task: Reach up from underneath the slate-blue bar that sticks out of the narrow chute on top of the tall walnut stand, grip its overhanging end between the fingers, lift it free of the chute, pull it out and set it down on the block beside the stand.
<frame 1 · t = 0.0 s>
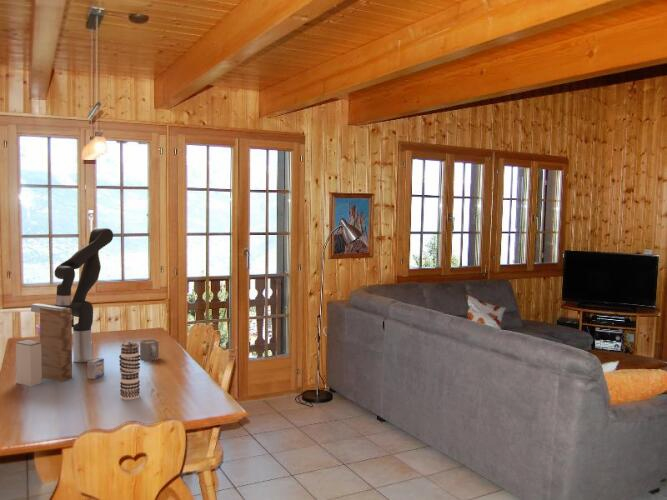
hand: (61, 334, 320), 17 cm above the table, tool pointing down, fingers open, 8 cm apart
decorative candle: (130, 397, 275), on the table
stand: (56, 377, 301), on the table
medicine box: (95, 377, 304), on the table
block: (29, 383, 291), on the table
bar: (48, 313, 301), point 32 cm above the table, touching stand
bowl of food: (54, 343, 371), on the table
coffee mug: (149, 359, 340), on the table
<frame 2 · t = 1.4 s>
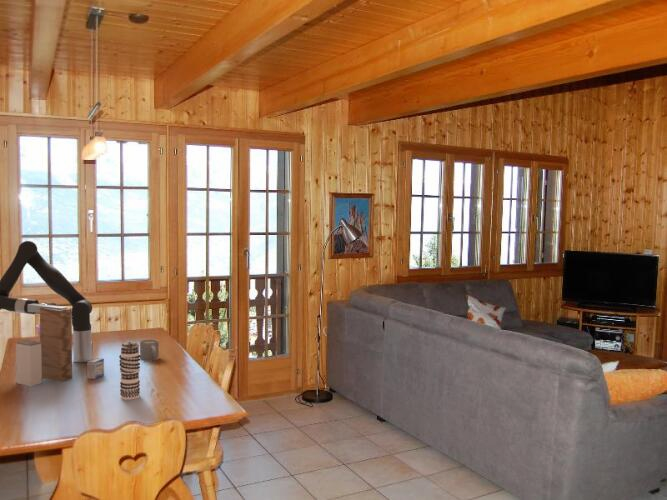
hand: (58, 309, 313), 31 cm above the table, tool horizontal, fingers open, 7 cm apart
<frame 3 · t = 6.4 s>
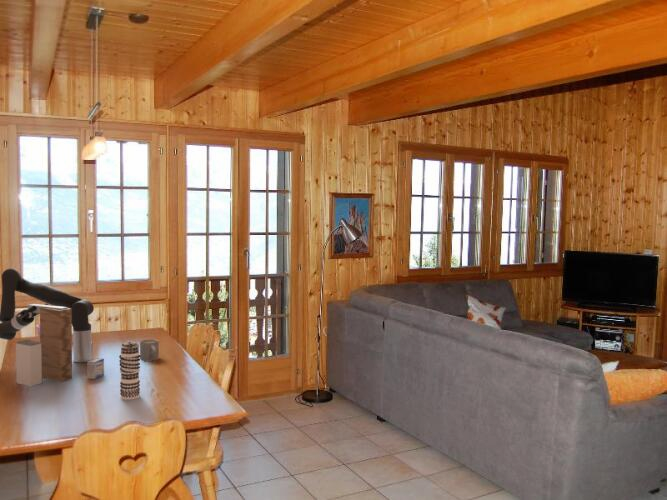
hand: (41, 306, 303), 35 cm above the table, tool pointing upward, fingers open, 6 cm apart
bar: (47, 313, 300), point 32 cm above the table, touching gripper, stand
everything else where it was.
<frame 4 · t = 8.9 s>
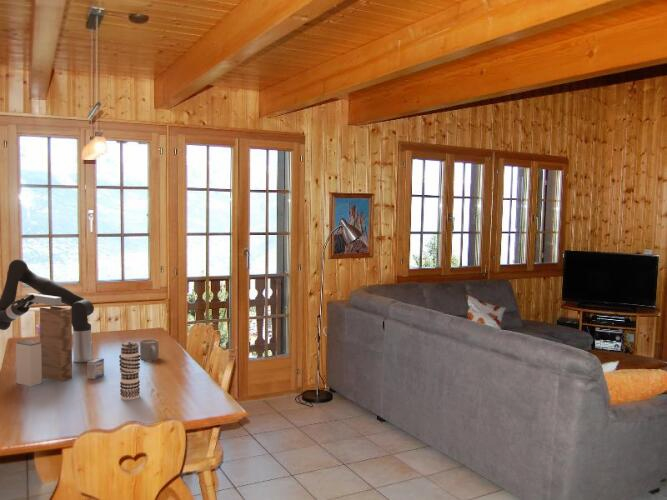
hand: (37, 295, 304), 40 cm above the table, tool pointing upward, fingers closed on bar, 3 cm apart
bar: (43, 302, 302), point 37 cm above the table, touching gripper
everything else where it was.
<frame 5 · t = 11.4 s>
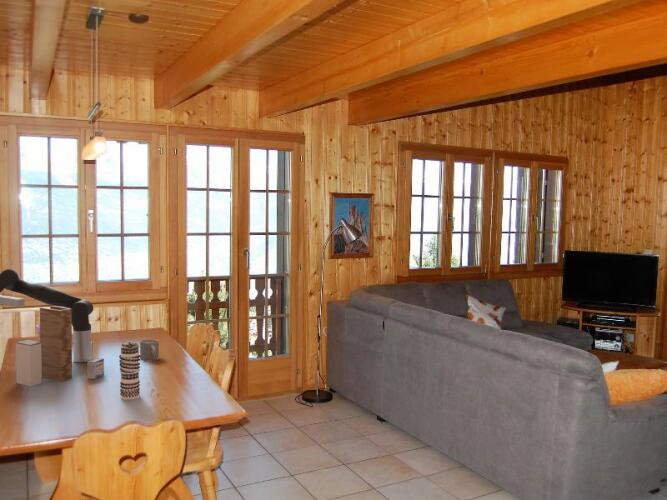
hand: (0, 296, 297), 40 cm above the table, tool pointing upward, fingers closed on bar, 3 cm apart
bar: (6, 304, 295), point 37 cm above the table, touching gripper
everything else where it was.
when the fingers open (25 cm above the table, at t = 16.1 s): bar drops 2 cm, resting on block.
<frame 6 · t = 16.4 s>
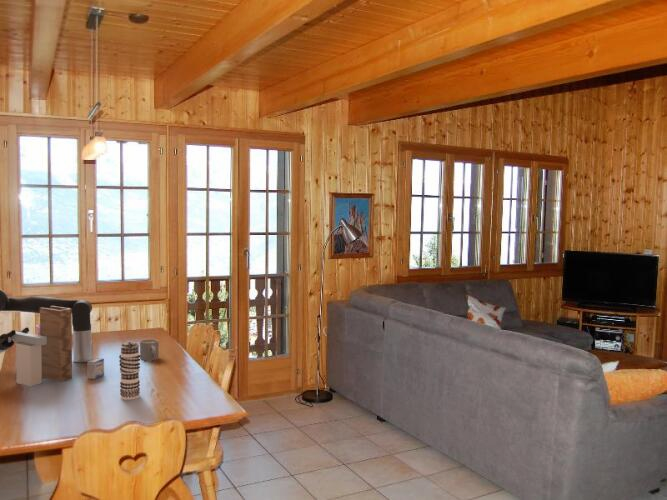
hand: (21, 330, 292), 25 cm above the table, tool pointing upward, fingers open, 6 cm apart
bar: (28, 342, 290), point 20 cm above the table, touching block
everything else where it was.
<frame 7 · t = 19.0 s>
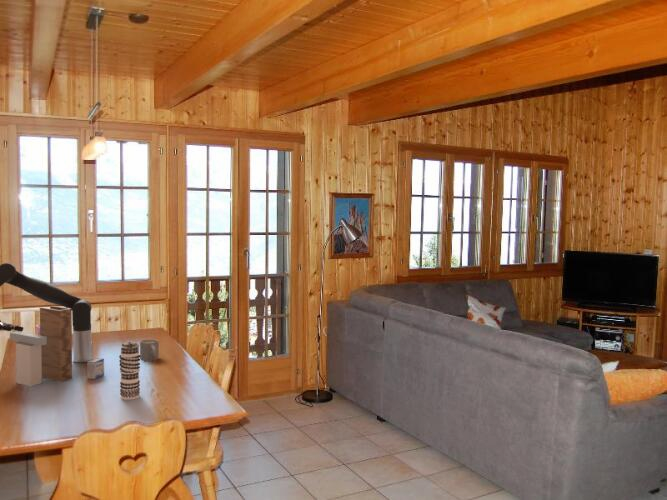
hand: (16, 329, 298), 24 cm above the table, tool horizontal, fingers open, 8 cm apart
nothing on the table moved.
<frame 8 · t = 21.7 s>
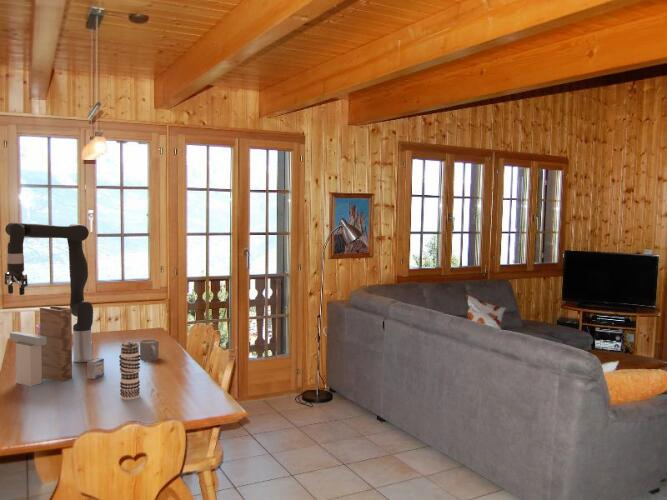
hand: (16, 294, 306), 40 cm above the table, tool pointing down, fingers open, 8 cm apart
nothing on the table moved.
at the end: bar inside the target area (0.3 cm from its centre), point 20.0 cm above the table; bar touching block; the gripper is holding nothing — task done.
